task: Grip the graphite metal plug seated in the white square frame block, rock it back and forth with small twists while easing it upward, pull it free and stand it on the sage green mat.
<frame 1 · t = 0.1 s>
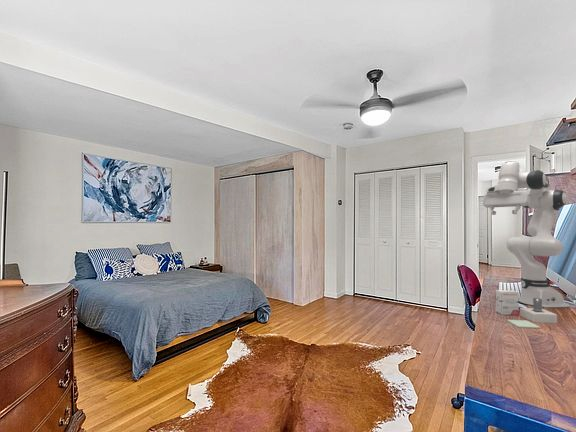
hand: (503, 214, 151), 52 cm above the table, tool tilted 20°, fingers open, 8 cm apart
plug: (537, 309, 142), in the white square frame block
white square frame block: (538, 319, 142), on the table
mat: (523, 324, 135), on the table
ink box: (507, 313, 151), on the table
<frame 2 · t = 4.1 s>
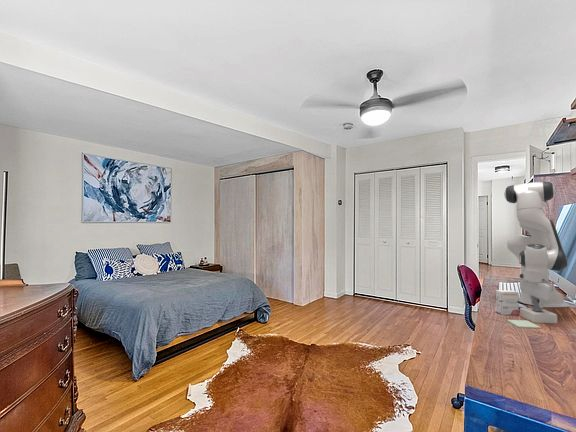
hand: (537, 305, 142), 7 cm above the table, tool pointing down, fingers closed on plug, 3 cm apart
plug: (537, 309, 142), in the white square frame block, touching gripper
everything else where it was.
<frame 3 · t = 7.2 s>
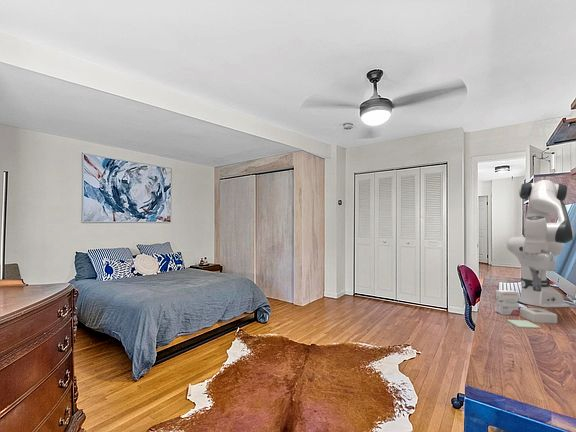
hand: (536, 277, 142), 21 cm above the table, tool pointing down, fingers closed on plug, 3 cm apart
plug: (536, 280, 142), point 19 cm above the table, touching gripper
everything else where it was.
when the fingers open (8 cm above the table, at t = 10.8 s): plug drops 1 cm, resting on mat.
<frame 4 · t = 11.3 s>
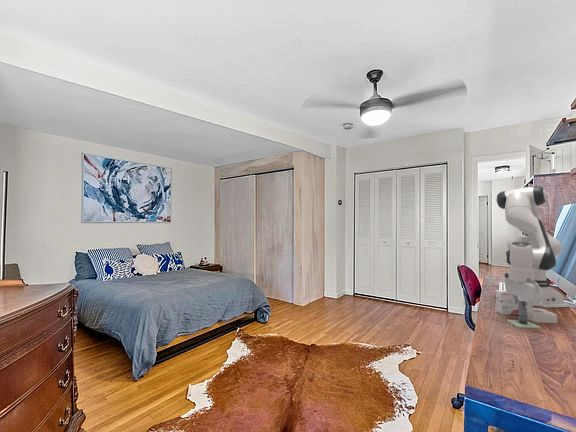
hand: (522, 306, 135), 8 cm above the table, tool pointing down, fingers open, 8 cm apart
plug: (522, 312, 135), on the mat, point 6 cm above the table
everything else where it was.
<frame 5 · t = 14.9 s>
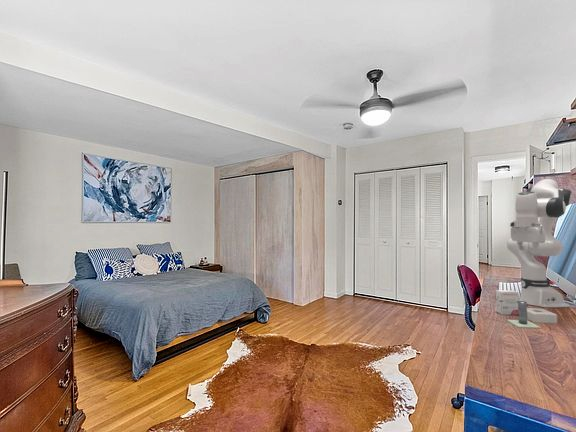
hand: (527, 251, 146), 33 cm above the table, tool pointing down, fingers open, 8 cm apart
nothing on the table moved.
at the end: plug 0.1 cm off-centre on the mat, point 5.6 cm above the mat's base; plug tilted 0°; the gripper is holding nothing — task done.
